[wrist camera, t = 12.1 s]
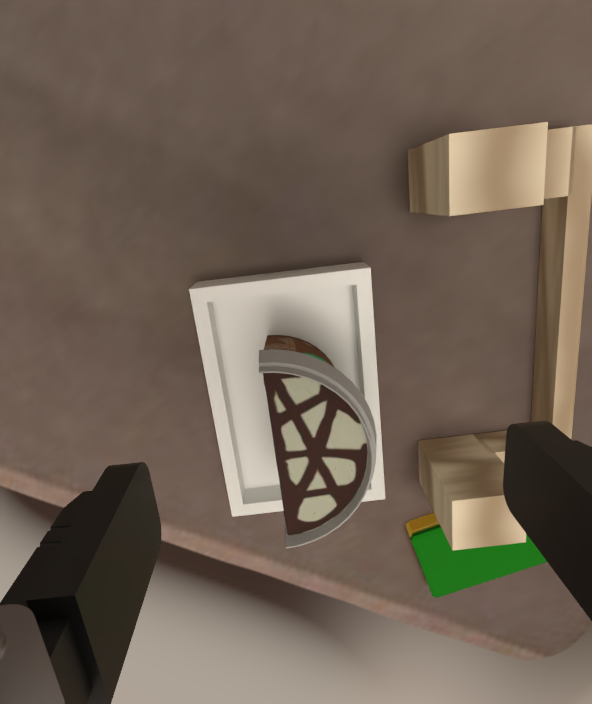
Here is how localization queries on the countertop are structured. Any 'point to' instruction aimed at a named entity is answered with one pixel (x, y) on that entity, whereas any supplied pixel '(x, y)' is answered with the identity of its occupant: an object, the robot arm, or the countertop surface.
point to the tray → (248, 384)
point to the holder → (552, 300)
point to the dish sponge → (465, 558)
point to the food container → (316, 438)
